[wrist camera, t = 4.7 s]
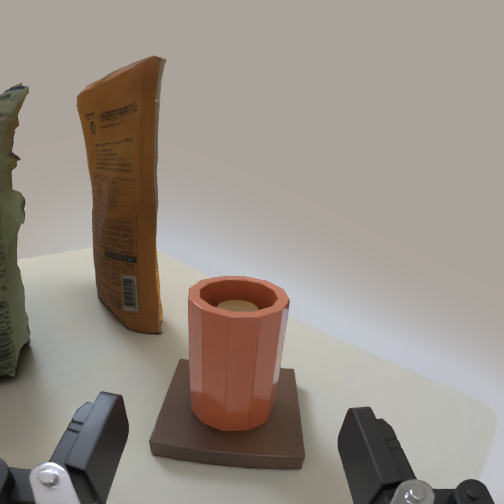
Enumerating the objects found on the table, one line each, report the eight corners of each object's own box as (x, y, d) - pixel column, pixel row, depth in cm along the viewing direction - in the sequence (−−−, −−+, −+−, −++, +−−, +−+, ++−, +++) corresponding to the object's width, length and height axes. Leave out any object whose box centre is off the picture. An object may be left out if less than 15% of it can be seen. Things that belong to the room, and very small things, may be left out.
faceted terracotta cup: (282, 391, 24) (298, 287, 21) (255, 442, 18) (269, 327, 16) (214, 370, 26) (217, 270, 23) (175, 412, 20) (168, 299, 18)
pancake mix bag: (131, 352, 29) (133, 45, 21) (76, 287, 42) (75, 87, 34) (186, 334, 34) (197, 58, 26) (116, 278, 46) (119, 90, 38)
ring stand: (291, 381, 27) (307, 284, 25) (301, 468, 18) (332, 359, 15) (180, 371, 27) (177, 273, 25) (151, 454, 18) (132, 340, 15)
